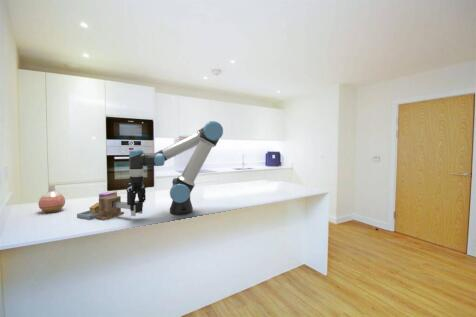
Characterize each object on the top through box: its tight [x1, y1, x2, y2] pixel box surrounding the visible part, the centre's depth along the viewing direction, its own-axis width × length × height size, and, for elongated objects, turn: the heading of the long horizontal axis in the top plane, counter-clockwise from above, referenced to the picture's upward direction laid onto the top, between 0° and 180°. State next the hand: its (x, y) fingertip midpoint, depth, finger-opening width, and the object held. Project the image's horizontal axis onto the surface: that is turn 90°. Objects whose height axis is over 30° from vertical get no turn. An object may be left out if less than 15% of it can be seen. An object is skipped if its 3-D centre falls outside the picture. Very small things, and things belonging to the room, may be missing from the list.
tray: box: [76, 209, 99, 221], centre depth 142 cm, size 11×13×2 cm
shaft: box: [112, 200, 143, 214], centre depth 138 cm, size 26×5×6 cm, turn 72°
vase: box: [38, 184, 66, 214], centre depth 149 cm, size 14×14×18 cm
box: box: [98, 190, 118, 199], centre depth 155 cm, size 10×6×12 cm, turn 168°
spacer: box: [88, 202, 99, 215], centre depth 143 cm, size 5×6×4 cm
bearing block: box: [95, 195, 125, 221], centre depth 141 cm, size 7×14×12 cm, turn 162°
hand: (136, 214), depth 135 cm, fingers closed on shaft, 5 cm apart
